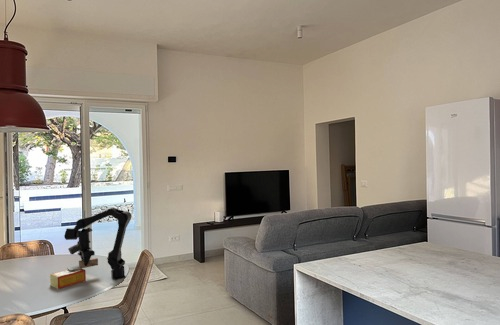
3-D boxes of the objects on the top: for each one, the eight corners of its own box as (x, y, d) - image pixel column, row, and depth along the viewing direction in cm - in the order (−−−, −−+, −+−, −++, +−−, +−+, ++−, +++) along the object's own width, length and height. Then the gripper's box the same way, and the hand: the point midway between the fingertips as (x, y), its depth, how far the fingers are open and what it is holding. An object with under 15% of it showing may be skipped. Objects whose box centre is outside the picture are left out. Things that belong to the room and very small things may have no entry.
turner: (95, 263, 227) (95, 257, 227) (98, 265, 223) (98, 258, 223) (67, 269, 217) (67, 262, 217) (70, 271, 213) (69, 264, 212)
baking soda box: (50, 274, 210) (78, 267, 222) (50, 285, 210) (78, 277, 222) (57, 277, 204) (86, 269, 216) (58, 288, 204) (86, 280, 216)
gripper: (65, 239, 222) (66, 265, 223) (73, 244, 208) (75, 271, 208) (84, 236, 229) (85, 261, 230) (94, 240, 215) (95, 267, 215)
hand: (85, 265), depth 221 cm, fingers closed on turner, 3 cm apart
